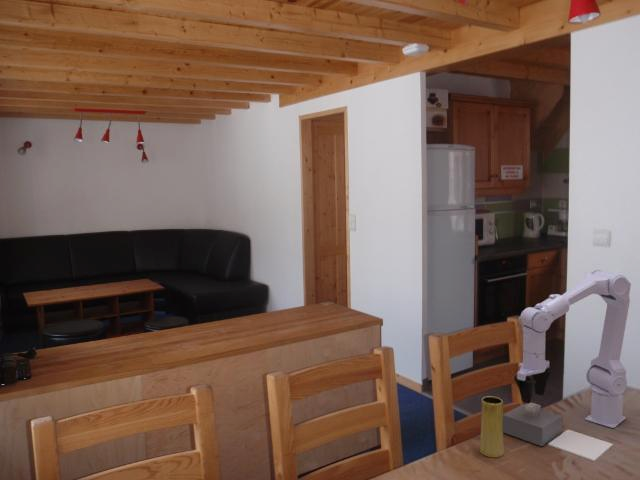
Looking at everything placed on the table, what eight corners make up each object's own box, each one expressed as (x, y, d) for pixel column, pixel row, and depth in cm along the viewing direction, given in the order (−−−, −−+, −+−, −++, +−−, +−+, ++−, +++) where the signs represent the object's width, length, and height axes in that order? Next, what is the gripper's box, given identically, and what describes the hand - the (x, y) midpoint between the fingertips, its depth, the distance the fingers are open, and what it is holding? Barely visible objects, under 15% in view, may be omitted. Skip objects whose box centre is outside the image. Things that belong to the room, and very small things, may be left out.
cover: (522, 420, 162) (523, 394, 161) (561, 433, 153) (562, 405, 152) (502, 431, 154) (502, 404, 153) (541, 446, 145) (543, 417, 145)
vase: (505, 458, 140) (506, 405, 138) (480, 456, 141) (481, 404, 140) (502, 447, 146) (503, 396, 144) (478, 445, 147) (479, 394, 146)
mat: (567, 430, 154) (567, 429, 154) (613, 445, 146) (613, 444, 146) (547, 445, 147) (548, 443, 147) (594, 461, 138) (594, 460, 138)
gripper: (533, 342, 159) (532, 387, 161) (507, 354, 150) (506, 401, 151) (556, 347, 154) (555, 394, 155) (531, 360, 144) (530, 409, 146)
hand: (533, 398), depth 153 cm, fingers open, 7 cm apart
